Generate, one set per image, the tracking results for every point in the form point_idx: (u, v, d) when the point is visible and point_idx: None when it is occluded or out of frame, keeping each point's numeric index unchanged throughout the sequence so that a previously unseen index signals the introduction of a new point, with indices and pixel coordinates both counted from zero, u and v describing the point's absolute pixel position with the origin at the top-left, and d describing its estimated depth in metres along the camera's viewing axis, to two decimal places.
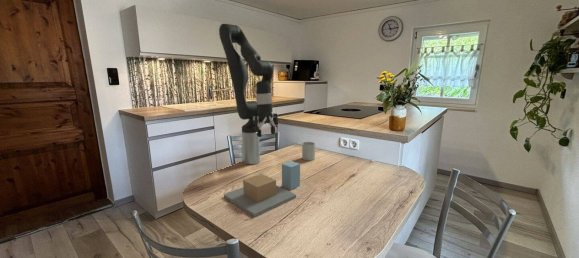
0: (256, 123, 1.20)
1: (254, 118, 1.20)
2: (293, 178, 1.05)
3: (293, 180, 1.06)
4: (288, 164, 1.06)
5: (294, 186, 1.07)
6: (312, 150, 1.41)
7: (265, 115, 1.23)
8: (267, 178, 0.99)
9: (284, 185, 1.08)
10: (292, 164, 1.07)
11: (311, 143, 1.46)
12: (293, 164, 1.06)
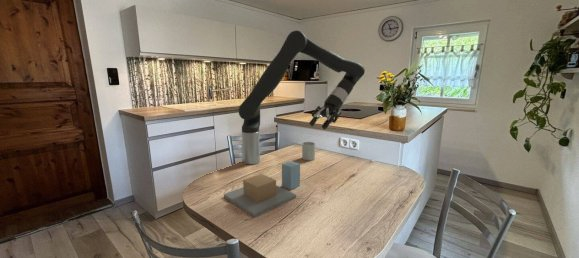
0: None
1: (339, 112, 1.10)
2: (293, 178, 1.05)
3: (293, 180, 1.06)
4: (288, 164, 1.06)
5: (294, 186, 1.07)
6: (312, 150, 1.41)
7: None
8: (267, 178, 0.99)
9: (284, 185, 1.08)
10: (292, 164, 1.07)
11: (311, 143, 1.46)
12: (293, 164, 1.06)
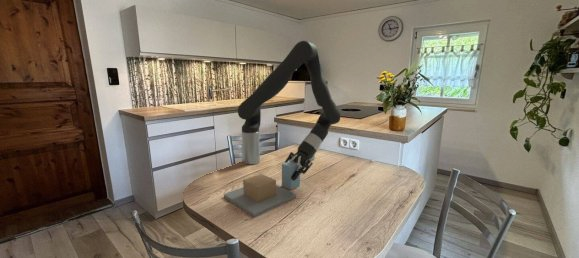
0: None
1: (310, 164, 1.04)
2: None
3: None
4: (288, 164, 1.06)
5: (294, 186, 1.07)
6: None
7: None
8: (267, 178, 0.99)
9: (284, 184, 1.08)
10: (292, 164, 1.07)
11: None
12: (293, 164, 1.06)
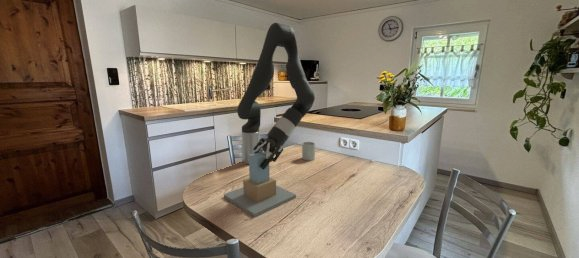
0: None
1: (281, 150, 0.92)
2: (260, 171, 0.94)
3: (260, 174, 0.94)
4: (255, 156, 0.95)
5: (262, 180, 0.95)
6: (312, 150, 1.41)
7: None
8: None
9: (251, 178, 0.97)
10: (260, 155, 0.95)
11: (311, 143, 1.46)
12: (261, 155, 0.95)
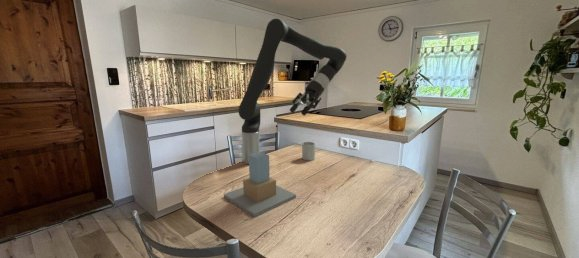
0: None
1: (319, 98, 1.07)
2: (260, 171, 0.94)
3: (260, 174, 0.94)
4: (255, 156, 0.95)
5: (262, 180, 0.95)
6: (312, 150, 1.41)
7: None
8: None
9: (251, 178, 0.97)
10: (260, 155, 0.95)
11: (311, 143, 1.46)
12: (261, 155, 0.95)
